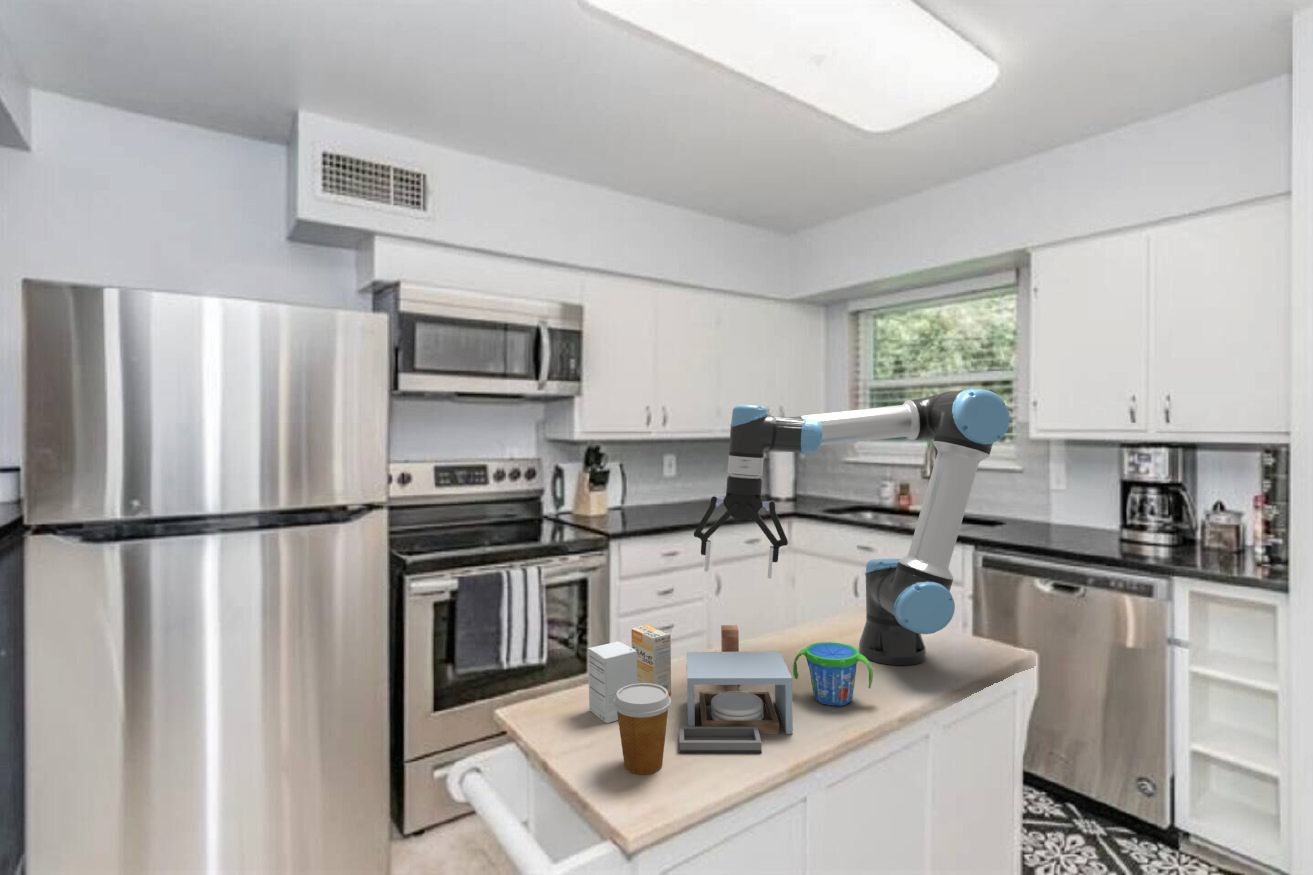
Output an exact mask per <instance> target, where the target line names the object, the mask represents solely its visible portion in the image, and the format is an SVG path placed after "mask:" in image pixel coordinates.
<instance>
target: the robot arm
mask: <svg viewBox="0 0 1313 875" xmlns="http://www.w3.org/2000/svg"><path fill="white" fill-rule="evenodd" d="M731 413H732V414H731V422H730V433H729V448H728V449H729V452H728V462H727V463H728V464H727V473H728V474H729V476H728V477H726V491H725V496H724V497H721V496H720V497H719V496H717V495H712V497H711V498H710V503H709V507H708V509H707V511H706V512H705V513H704V515H703V517H702V518H701V520H700V521H699V524H698V526H696V529H695V530H694V532H693V536H694V537H695V538H697V539H700V541H701V544H700V554H701V556H705V557H704V558H705V559H704V572H709V571H710V564H711V563H710V562H711V561H710V559H711V549H712V548H711V546H712V540H711V539H709V538H710V537H711V536H712V535H713V534H714V533H715V532H716V531H717V530H718V529H719V528H720V527H721V526H722V525H723V524H724V523H725V522H726V521H727V520H728V519H729V518H730V517H732V518H733V519H734V520H740V519H743V520H746V521H750V520H752V519H753V521H754V522H755V524H757V525H758V527H759V528H760V530H761V531H762V532H763V534H764V535H765V536H766V538H767V539H768V541H769V542H770V543H771V545H769V553H768V554H769V555H768V565H767V566H768V567H767V569H768V570H767V579H772V575H773V574H772V573H773V563H778V562H779V552H780V548H781V547H784V546H785V547H786V546H788V543H789V540H788V538H787V536H786V533H785V531H784V529H783V526H782V524H781V520H780V519H779V516H778V514H777V511H776V502H775V501H774V500H771V499H770V501H766V500H764V501H762V486H763V480H762V478H760V477H762V476H763V472H764V458H765V457H764V456H765V451H775V452H776V451H777V452H786V453H787V452H788V453H799V454H800V453H801V454H815V453H817V452H818V451H819V450H820V448H821V446H828V445H837V444H846V443H847V444H848V443H856V442H867V441H877V440H884V439H885V440H886V439H896V438H897V439H898V438H903V437H906V438H907V439H909V440H911V441H915V440H933V441H932V443H933V445H934V448H936V451H937V454H936V457H935V461H934V465H933V466H932V467H933V468H932V471H931V474H930V478H929V482H928V485H927V488H926V492H925V496H924V498H923V502H922V506H921V507H920V508H921V509H920V511H919V515H918V519H917V523H916V526H915V530H914V534H913V537H912V540H911V543H910V547H909V549H908V554H907V555H906V556H904V557H902V558H877V559H876V558H875V559H873V558H872V559H870V560H868V561H867V562H866V564H865V573H864V575H865V608H866V609H865V611H866V614H865V615H866V617H865V618H866V620H865V624H864V627H863V630H862V633H861V635H860V639H859V642H858V651H859V653H860V654H862V655H863V656H865V657H866V658H867V660H868V661H871V662H874V663H879V664H883V665H884V664H885V665H891V666H913V665H917V664H921V663H923V662H925V661H926V658H927V651H926V650H927V649H926V646H925V642H924V640H923V637H922V635H931V634H935V633H937V632H939V631H941V630H943V629H945V627H947V626H948V624H950V623H951V621H952V619H953V617H954V615H955V610H956V609H955V608H956V607H955V606H956V604H955V599H954V598H953V595H952V593H951V588H952V584H953V582H954V576H953V574H952V572H951V571H950V568H949V567H950V564H951V561H952V557H953V554H954V550H955V547H956V543H957V539H958V537H959V533H960V529H961V525H962V522H963V520H964V519H963V518H964V515H965V512H966V509H967V505H968V502H969V498H970V495H971V492H972V488H973V485H974V481H975V479H976V476H977V475H976V474H977V471H978V468H979V466H980V462H982V461H984V460H986V459H987V458H990V456H991V452H992V448H993V446H994V443H995V442H997V441H999V440H1000V439H1002V438H1003V437H1004V436H1005V434H1006V433H1007V431H1008V429H1009V427H1010V423H1011V422H1010V421H1011V417H1010V411H1009V408H1008V406H1007V405H1006V403H1005V401H1004V399H1003V398H1001V396H999V395H998V394H997V393H996V392H993V391H991V390H987V389H983V388H982V389H980V388H968V389H962V390H952V391H945V392H941V393H937V394H933V395H930V396H925V397H922V398H916V399H914V398H913V399H907V400H905V401H904V403H903V404H900V405H889V406H880V407H871V408H870V407H869V408H861V409H854V410H853V409H852V410H843V411H842V410H841V411H834V412H826V413H825V412H824V413H815V414H806V415H798V416H773V415H768V409H767V407H765V405H763V406H762V405H754V404H753V405H751V404H737V405H735V406H734V407H733V408H732V412H731ZM721 504H723V506H724V507H725V509H726V511H725V512H723V515H721V516H720V517H719V518H718V520H716V521H715V522H714V524H712V525H711V526H710V527H709V529H707V530H706V531H705V532H703V531H704V528H705V526H706V525H707V523H708V522H709V520H710V518H711V517H712V514H713V513H714V511H715V510H716V508H718V507H720V506H721ZM763 507H764V509H765V511H767V512H769V516H770V517H771V520H772V522H773V525H774V527H775V529H776V531H777V535H778V537H779V538H780V539H777V537H776V536H775V535H774V534H773V532H772V531H771V529H770V528H769V527H768V525H767V524H766V522H765V521H764V520H763V518H762V517H761V515H760V514H759V512H760V510H761V509H762V508H763Z"/></svg>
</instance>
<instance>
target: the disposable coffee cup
mask: <svg viewBox="0 0 1313 875" xmlns="http://www.w3.org/2000/svg"><path fill="white" fill-rule="evenodd" d="M671 704H672V699H671V697H670V695H668V691H667V690H666V689H665V688H664V687H662V686H660V685H656V684H651V683H637V684H631V685H627V686H625V687H623V688H620V689H619V690H618V691H617V694H616V698H615V699H614V706H615V708H616V710H617V715H618V720H617V722H618V730H619V736H620V742H621V744H620V745H621V750H622V756H623V757H622V758H623V765H624V769H625V770H626V771H628V772H629V773H632V774H636V775H649V774H653V773H655V772H658V771H659V770H661V769H662V767H663V763H664V762H663V761H664V760H663V759H664V752H665V742H666V734H667V726H668V725H667V724H668V714H669V708H670V706H671Z"/></svg>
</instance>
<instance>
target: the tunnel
mask: <svg viewBox="0 0 1313 875" xmlns="http://www.w3.org/2000/svg"><path fill="white" fill-rule="evenodd" d="M705 685H706V686H709V685H710V686H713V685H715V686H723V685H739V686H740V685H741V686H746V685H748V686H749V685H752V686H753V685H755V686H759V685H764V686H765V685H766V686H767V685H768V686H770V685H771V686H773V685H774V702H775V705H776V708H777V711H778V714H779V716H780V717H779V718H780V719H781V723H782V726H783V729H784V732H785V734H786V735H793V734H794V729H793V728H794V726H793V725H794V723H793V721H794V720H793V717H794V716H793V713H794V712H793V677H792V674H791V673H790V670H789V668H788V666H787V663H786V661H785V659H784V657H783V654H782V652H781V651H739V652H722V651H686V689H687V690H686V691H687V694H686V696H687V698H686V699H687V700H686V701H687V702H686V703H687V727H696V724H695V722H696V721H695V720H696V719H695V713H696V712H695V686H705Z"/></svg>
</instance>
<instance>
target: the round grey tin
mask: <svg viewBox="0 0 1313 875" xmlns="http://www.w3.org/2000/svg"><path fill="white" fill-rule="evenodd" d="M721 692H722V693H719V694H717V695H716V696H714V697H713V698H712V700H711V704H710V705H711V706H710V711H711V712H710V717H711V720H712V721H764V708H763V707H764V704H763V701H762V700H761V699H760V698H759V697H758V696H756V695H754V694H752V693H749V692H750V691H742V690H738V691H727V690H726V691H721Z"/></svg>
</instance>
